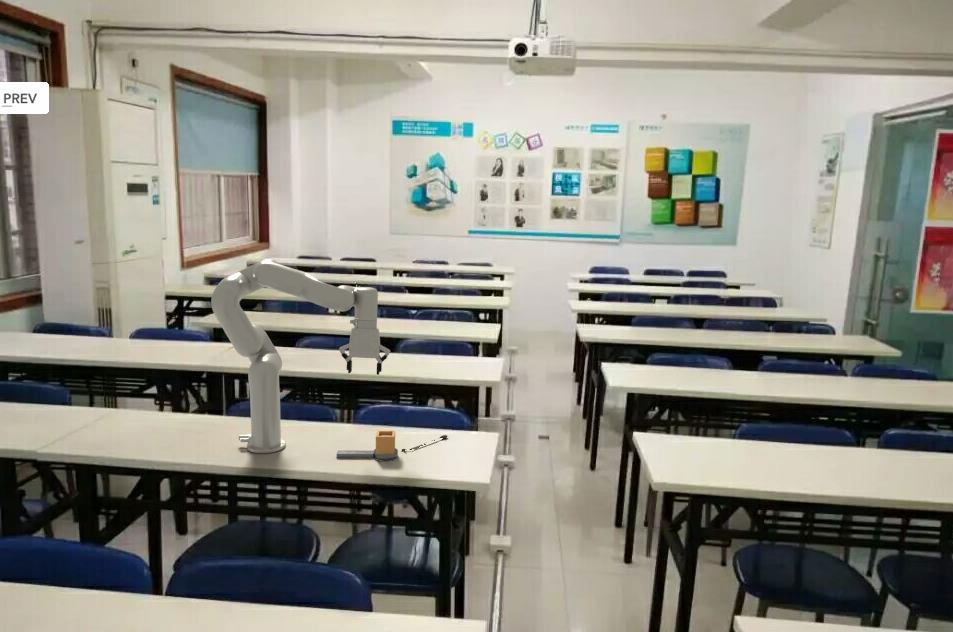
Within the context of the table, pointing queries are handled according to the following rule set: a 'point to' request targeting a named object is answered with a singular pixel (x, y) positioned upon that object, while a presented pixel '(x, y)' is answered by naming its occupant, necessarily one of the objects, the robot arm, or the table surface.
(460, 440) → the table surface
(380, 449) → the socket
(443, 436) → the tomahawk
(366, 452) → the ratchet
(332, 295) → the robot arm
